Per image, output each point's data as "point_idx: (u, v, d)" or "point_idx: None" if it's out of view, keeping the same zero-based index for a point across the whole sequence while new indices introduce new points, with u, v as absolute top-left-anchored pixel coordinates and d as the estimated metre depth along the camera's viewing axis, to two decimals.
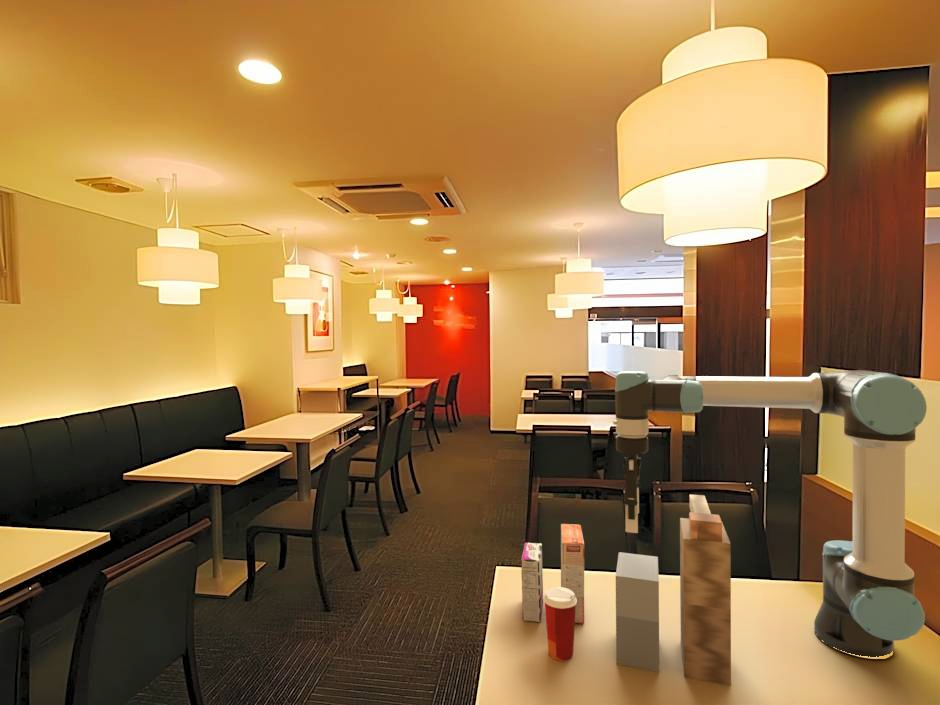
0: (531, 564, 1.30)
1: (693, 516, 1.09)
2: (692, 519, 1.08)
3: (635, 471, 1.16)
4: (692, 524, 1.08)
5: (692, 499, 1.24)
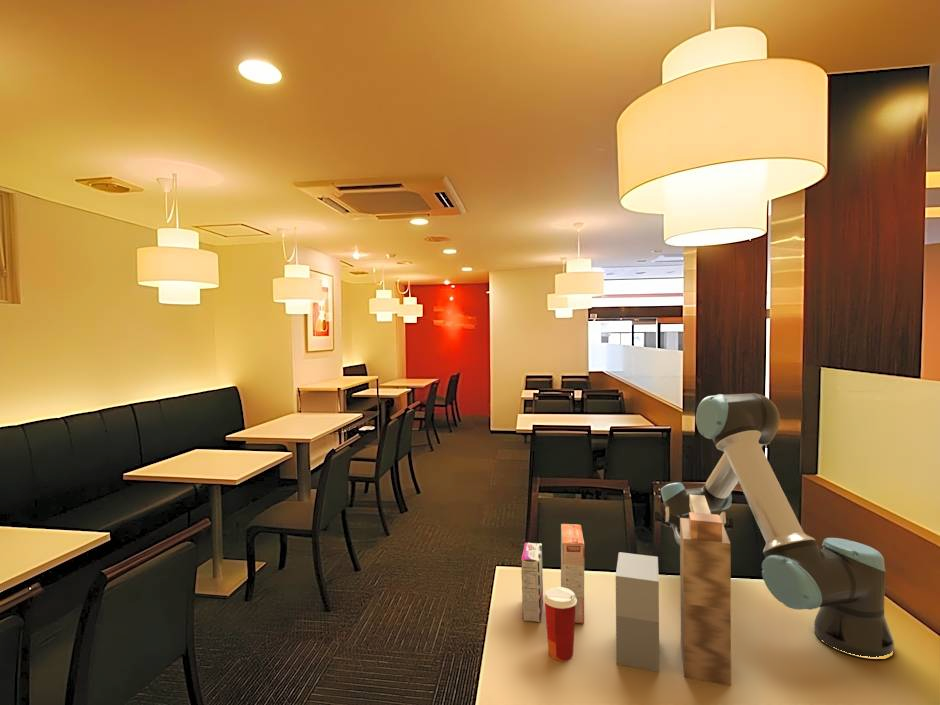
0: (531, 564, 1.30)
1: (693, 516, 1.09)
2: (692, 519, 1.08)
3: None
4: (692, 524, 1.08)
5: (692, 499, 1.24)
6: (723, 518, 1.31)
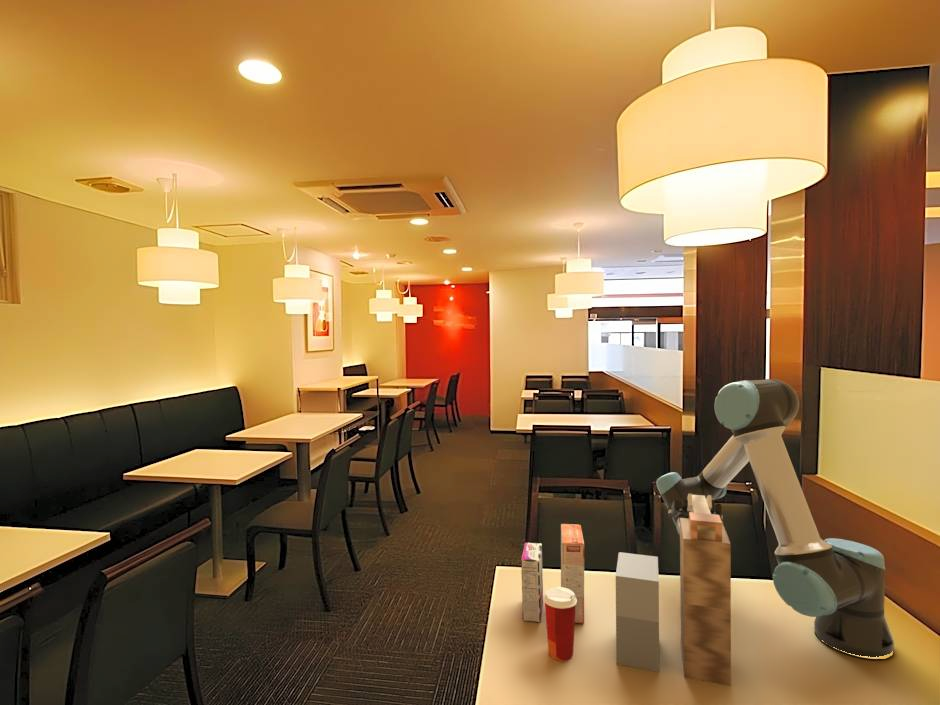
0: (531, 564, 1.30)
1: (693, 516, 1.09)
2: (692, 519, 1.08)
3: (671, 507, 1.34)
4: (692, 524, 1.08)
5: (692, 499, 1.24)
6: (709, 502, 1.19)
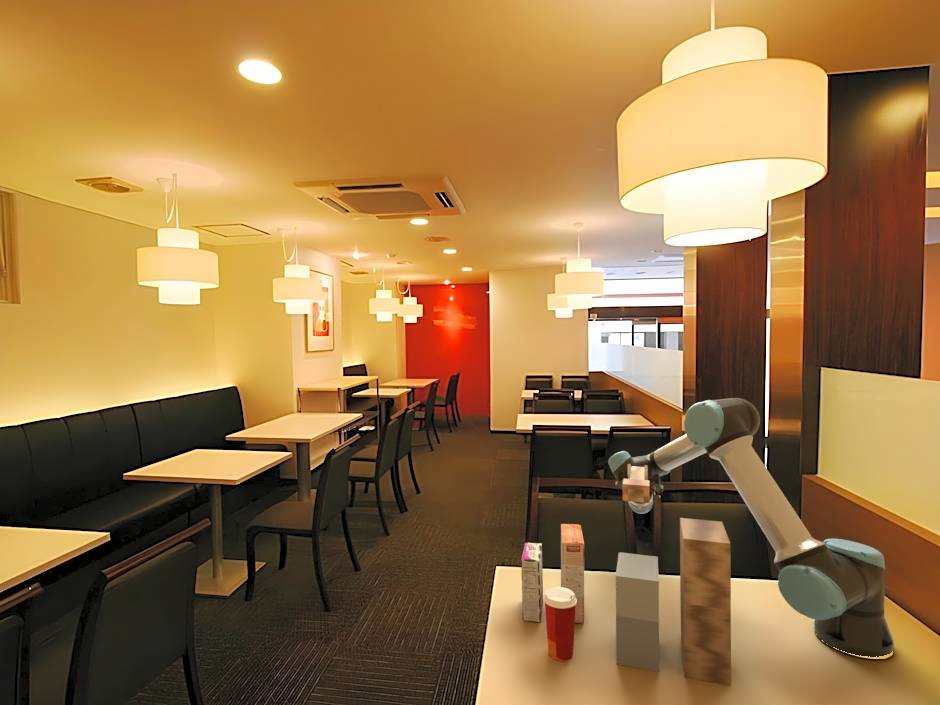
0: (531, 564, 1.30)
1: (625, 481, 1.23)
2: (624, 483, 1.21)
3: (617, 479, 1.47)
4: (624, 488, 1.21)
5: (632, 470, 1.37)
6: (645, 471, 1.32)
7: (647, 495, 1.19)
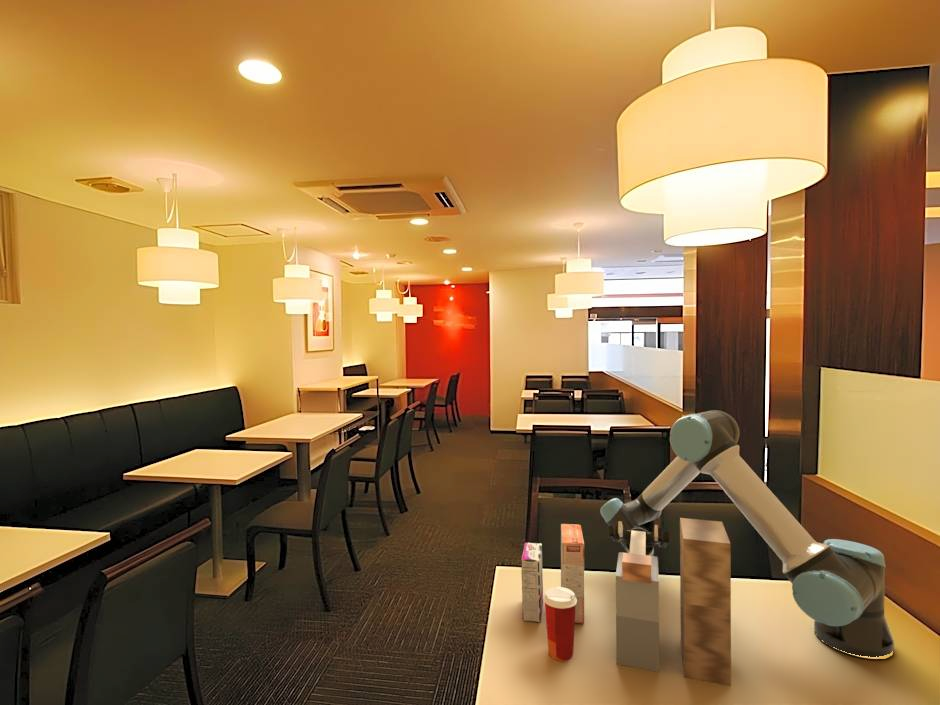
0: (531, 564, 1.30)
1: (625, 558, 1.13)
2: (623, 561, 1.11)
3: None
4: (623, 566, 1.11)
5: (632, 536, 1.27)
6: (655, 532, 1.22)
7: (649, 575, 1.09)
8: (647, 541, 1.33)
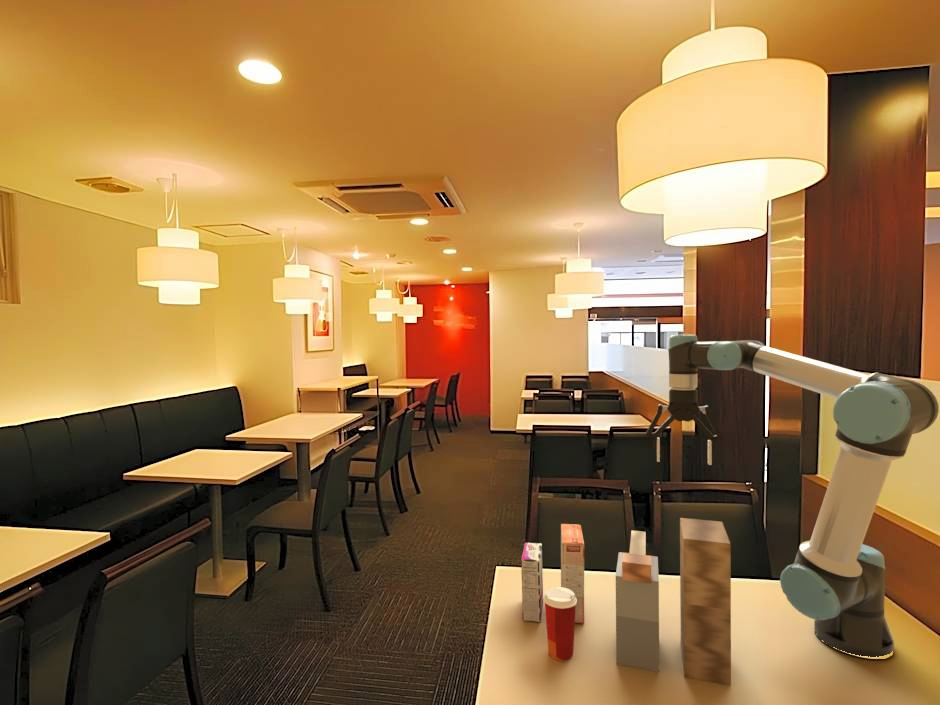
0: (531, 564, 1.30)
1: (625, 558, 1.13)
2: (623, 561, 1.11)
3: (657, 412, 1.47)
4: (623, 566, 1.11)
5: (632, 536, 1.27)
6: None
7: (649, 575, 1.09)
8: None
